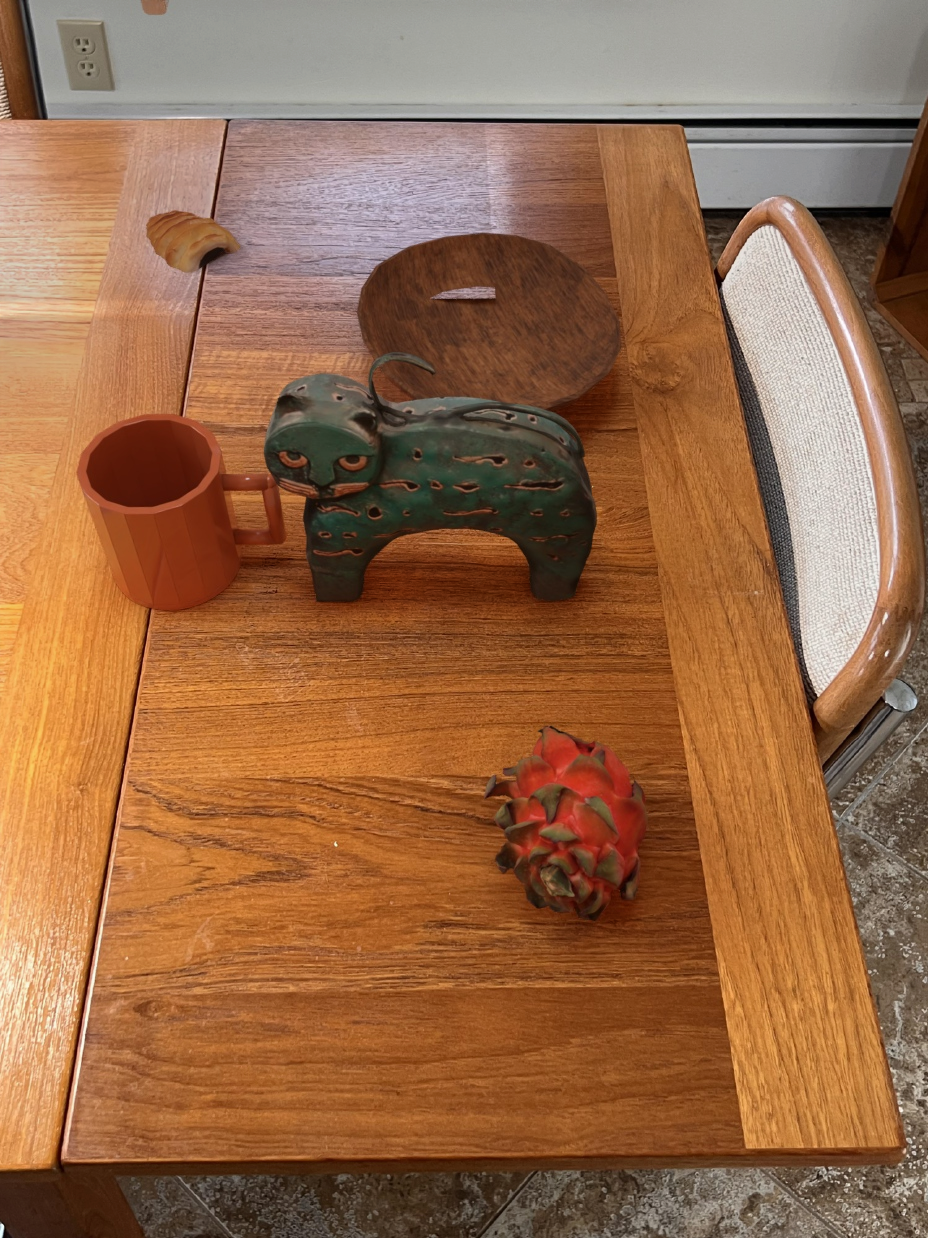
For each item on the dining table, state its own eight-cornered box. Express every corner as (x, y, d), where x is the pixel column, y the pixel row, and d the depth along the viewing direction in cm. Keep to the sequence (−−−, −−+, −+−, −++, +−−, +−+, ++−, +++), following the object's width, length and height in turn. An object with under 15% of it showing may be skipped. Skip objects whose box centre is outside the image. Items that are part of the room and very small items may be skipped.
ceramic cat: (288, 615, 77) (247, 384, 61) (298, 542, 81) (261, 307, 65) (587, 619, 77) (623, 390, 61) (581, 546, 81) (615, 312, 65)
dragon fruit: (564, 973, 64) (538, 798, 72) (700, 916, 61) (655, 740, 69) (474, 912, 59) (458, 731, 67) (617, 846, 55) (580, 665, 64)
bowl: (407, 488, 84) (405, 438, 80) (332, 307, 96) (327, 255, 92) (655, 431, 88) (665, 380, 84) (552, 264, 100) (556, 213, 96)
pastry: (128, 247, 101) (118, 208, 98) (192, 218, 104) (185, 180, 101) (188, 297, 97) (180, 258, 94) (254, 266, 100) (248, 227, 97)
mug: (102, 611, 77) (65, 514, 69) (123, 513, 82) (90, 413, 74) (285, 609, 77) (268, 512, 69) (294, 512, 82) (279, 412, 75)
